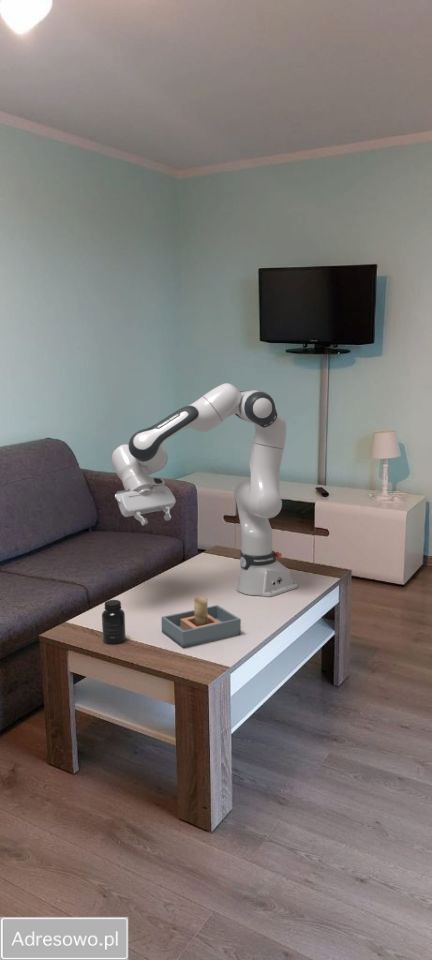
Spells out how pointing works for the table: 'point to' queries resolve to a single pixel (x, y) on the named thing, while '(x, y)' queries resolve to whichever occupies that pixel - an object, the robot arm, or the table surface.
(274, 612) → the table surface
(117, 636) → the supplement bottle
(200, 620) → the beech peg
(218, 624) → the open-top box
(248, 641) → the table surface
